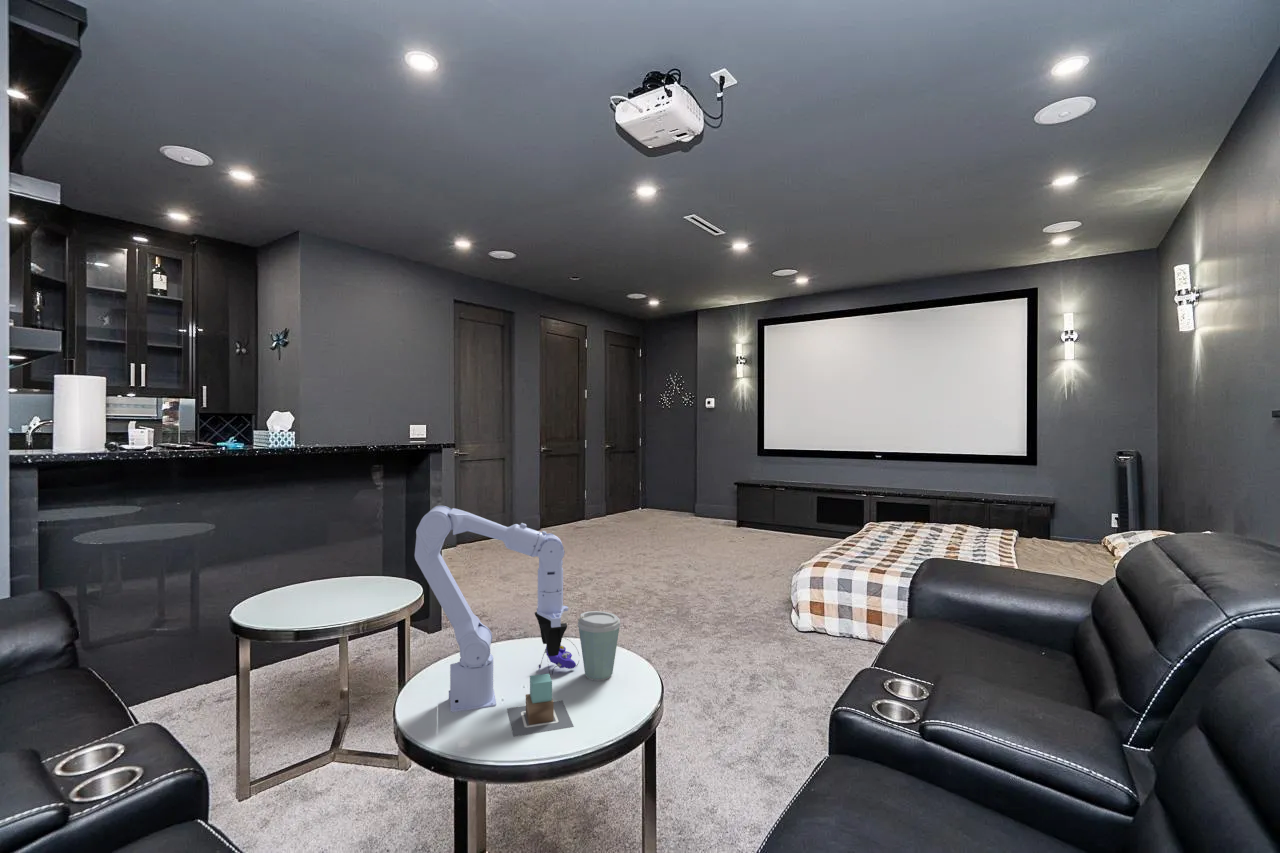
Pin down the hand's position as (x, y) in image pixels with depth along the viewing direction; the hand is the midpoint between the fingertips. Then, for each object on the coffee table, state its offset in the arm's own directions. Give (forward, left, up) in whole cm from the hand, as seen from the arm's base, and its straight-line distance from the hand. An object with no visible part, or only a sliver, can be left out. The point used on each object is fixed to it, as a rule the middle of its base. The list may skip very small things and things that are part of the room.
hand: (550, 649), depth 133 cm
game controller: (+4, +13, -11) cm, 17 cm away
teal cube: (-4, -10, -6) cm, 12 cm away
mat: (-4, -10, -10) cm, 15 cm away
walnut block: (-4, -10, -10) cm, 15 cm away
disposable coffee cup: (+13, +6, -11) cm, 18 cm away
